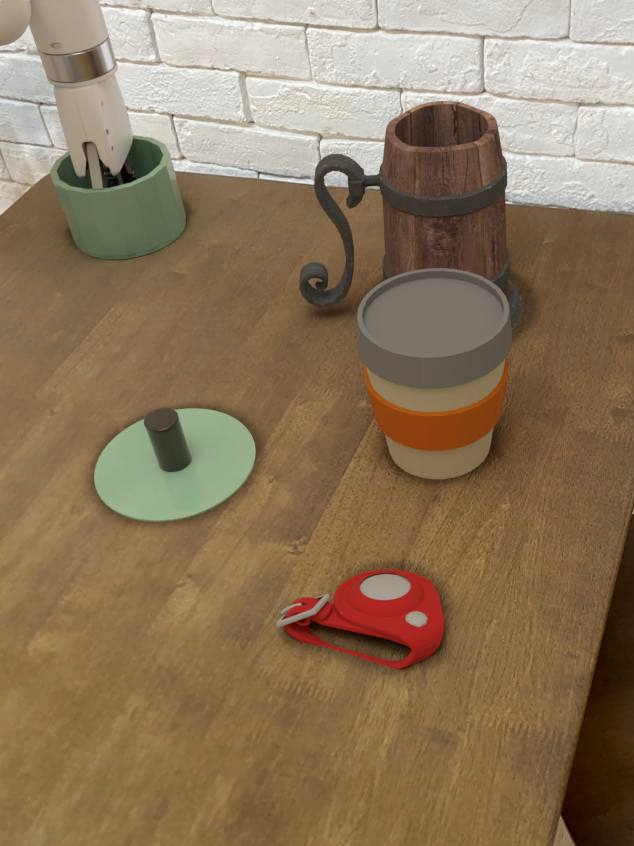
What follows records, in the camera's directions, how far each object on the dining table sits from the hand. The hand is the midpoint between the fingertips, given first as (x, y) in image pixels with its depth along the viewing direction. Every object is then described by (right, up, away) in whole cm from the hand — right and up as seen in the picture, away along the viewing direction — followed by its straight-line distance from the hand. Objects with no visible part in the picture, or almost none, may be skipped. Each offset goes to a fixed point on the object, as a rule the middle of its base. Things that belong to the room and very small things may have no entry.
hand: (127, 216), depth 113 cm
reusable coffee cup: (+37, -31, -28) cm, 56 cm away
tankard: (+35, -16, -14) cm, 41 cm away
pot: (0, -1, +1) cm, 2 cm away
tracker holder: (+31, -46, -41) cm, 68 cm away
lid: (+13, -32, -28) cm, 45 cm away
